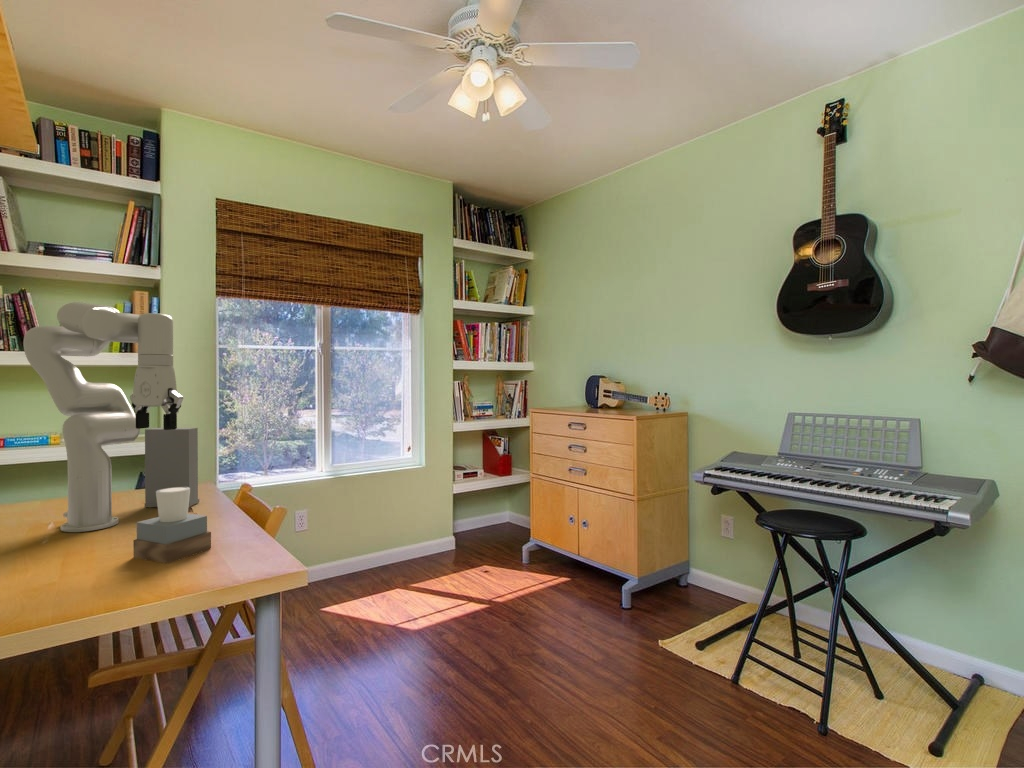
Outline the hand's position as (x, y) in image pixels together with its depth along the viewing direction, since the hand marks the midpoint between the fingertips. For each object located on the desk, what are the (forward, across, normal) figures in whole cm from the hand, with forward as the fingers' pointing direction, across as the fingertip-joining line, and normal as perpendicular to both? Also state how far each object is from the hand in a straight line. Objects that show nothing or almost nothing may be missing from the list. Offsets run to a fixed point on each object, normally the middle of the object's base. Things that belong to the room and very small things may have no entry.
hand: (156, 428), depth 135 cm
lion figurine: (+29, +6, +4) cm, 29 cm away
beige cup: (+20, +14, -6) cm, 26 cm away
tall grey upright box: (+28, -29, +27) cm, 49 cm away
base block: (+29, +14, -7) cm, 33 cm away
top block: (+24, +14, -7) cm, 29 cm away
